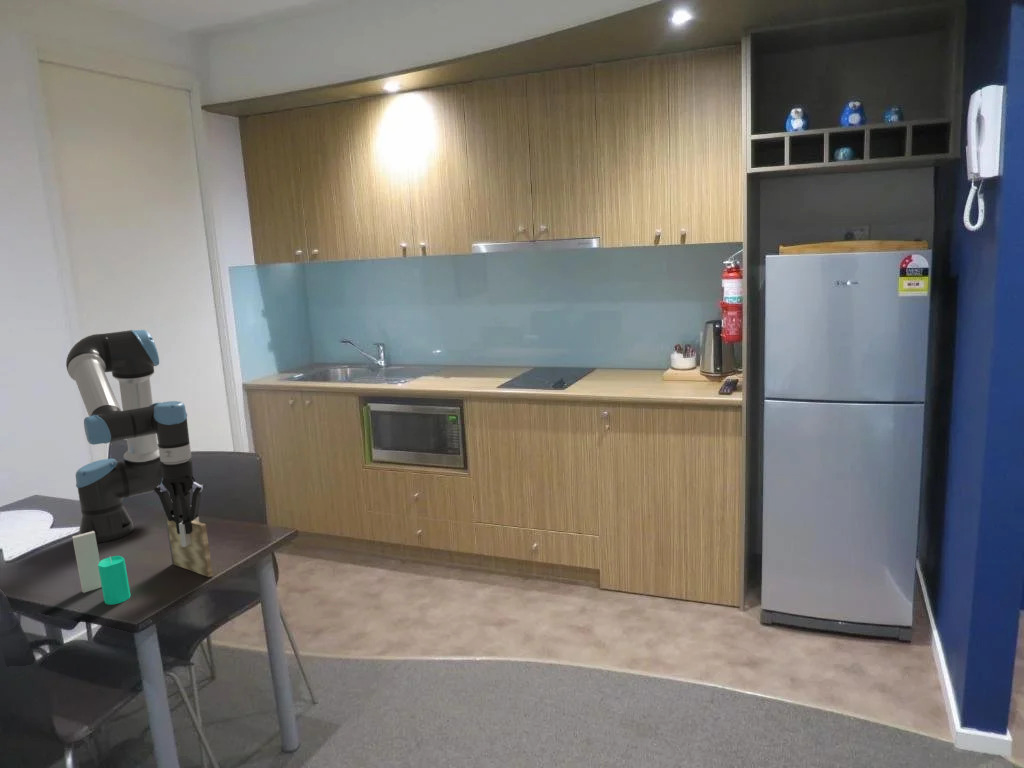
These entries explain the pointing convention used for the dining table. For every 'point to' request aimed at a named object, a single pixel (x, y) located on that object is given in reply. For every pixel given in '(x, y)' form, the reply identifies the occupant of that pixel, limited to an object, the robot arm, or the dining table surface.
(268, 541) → the dining table surface
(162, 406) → the robot arm
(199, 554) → the door
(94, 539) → the door frame
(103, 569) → the candle
